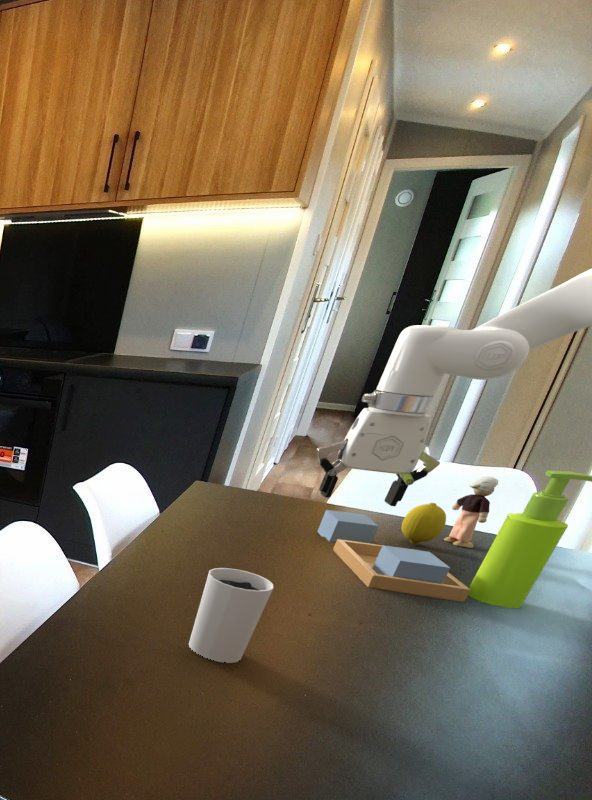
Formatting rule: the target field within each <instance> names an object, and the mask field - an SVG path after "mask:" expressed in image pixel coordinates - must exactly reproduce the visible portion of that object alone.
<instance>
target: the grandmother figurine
mask: <svg viewBox="0 0 592 800" xmlns="http://www.w3.org/2000/svg"><path fill="white" fill-rule="evenodd" d="M497 486H499V480H498V479H497V478H495V477H493V476H483V477H481V478H478V479H476V480H474V481H473V482H472V483H470V484H469V488H470V489H471V488H472V489H473V493H474V494H467V495H464V496H462V497H460V498H457V500H456V502H455V503H454V504H453V505H452V506H451V509H452V510H453V511H458V510H460V508H461V513H460V515H459V516H458V517H457V519H456V520H455V523H454V524H453V526H452V529H451V531H450V533H449V536H447V537H444V538H443V541H444V542H447V543H452V545H453V546H457V547H461V548H468V549H473V548H474V544H473V542H471V540H472V539H473V535H474V533H475V529H476V527H477V523H481V524H484V523H486V522H487V521H488V520H487V519H488V516H489V513H490V505H491V501H490V500H489V499H488V498H487V497H488V496H490V495H492V494H493V493H494V492H495V488H496V487H497Z"/></svg>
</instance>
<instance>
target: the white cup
mask: <svg viewBox="0 0 592 800" xmlns="http://www.w3.org/2000/svg"><path fill="white" fill-rule="evenodd" d="M273 590H274V583H272V582H271V580H269V579H268V578H265V577H264V576H261V575H259V574H256V573H253V572H249V571H246V570H241V569H238V568H228V567H217V568H216V567H215V568H212V569H210V570H208V574H207V578H206V581H205V585H204V588H203V592H202V596H201V599H200V602H199V606H198V608H197V613H196V616H195V620H194V623H193V627H192V631H191V634H190V638H189V641H188V645H189V646H188V647H189V649H190V648H191V649H190V650H191V651H192V650H193V651H192V652H194V653H195V652H196V653H195V654H196V655H198V654H199V655H198V656H200V655H201V656H200V657H202V656H203V658H205V659H207V658H208V659H207V660H210V659H211V660H210V661H213V660H214V662H218V663H224V662H226V663H225V664H233V663H235V664H236V663H238V662H240V661H241V660H242V658H243V655H244V653H245V652H246V649H247V647H248V645H249V642H250V640H251V638H252V636H253V634H254V632H255V630H256V627H257V625H258V623H259V621H260V618H261V616H262V614H263V612H264V610H265V608H266V606H267V604H268V601H269V599H270V597H271V594H272V592H273ZM239 660H240V661H239Z"/></svg>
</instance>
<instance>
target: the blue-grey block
mask: <svg viewBox="0 0 592 800" xmlns="http://www.w3.org/2000/svg"><path fill="white" fill-rule="evenodd" d="M397 547H398V546H392V547H390V545H384V546H382V548H381V550H380V552H379V555H378V557H377V559H376V561H375V563H374V565H373V568H372V569H373V570H374V571H375V572H376V573H377V574H379V575H386V576H393V577H399V578H406V579H413V580H419V581H426V582H433V583H439V584H442V583H443V581H444V579H445V578H446V576H447V574H448V573H449V572H450V570H451V567H450V566H449V565H447V564H446V563H445V562H444V561H442V560H441V559H440V558H438V557H437V556H436V555H434V554H433V553H432V552H430V551H425V550H420V549H413V548H406V547H399V548H397ZM405 548H406V549H405ZM412 549H413V550H412ZM419 550H420V551H419Z"/></svg>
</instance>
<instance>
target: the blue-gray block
mask: <svg viewBox="0 0 592 800" xmlns="http://www.w3.org/2000/svg"><path fill="white" fill-rule="evenodd" d="M379 527H380V525H378V524H377V523H376V522H375V521H374V520H372V519H371V518H370V517H369V516H367V515H366V514H364V513H355V512H348V511H339V510H331V509H326V510H325V512H324V514H323V517H322V519H321V522H320V524H319V527H318V529H317V533H318V534H319V535H320V536H321V537H323V538H325V539H326V540H327V541H328V542H332V543H336V541H337V539H340V540H348V541H355V542H362V543H370V544H373V543H372V542H373V541H374V538H375V536H376V534H377V532H378V529H379Z"/></svg>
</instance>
